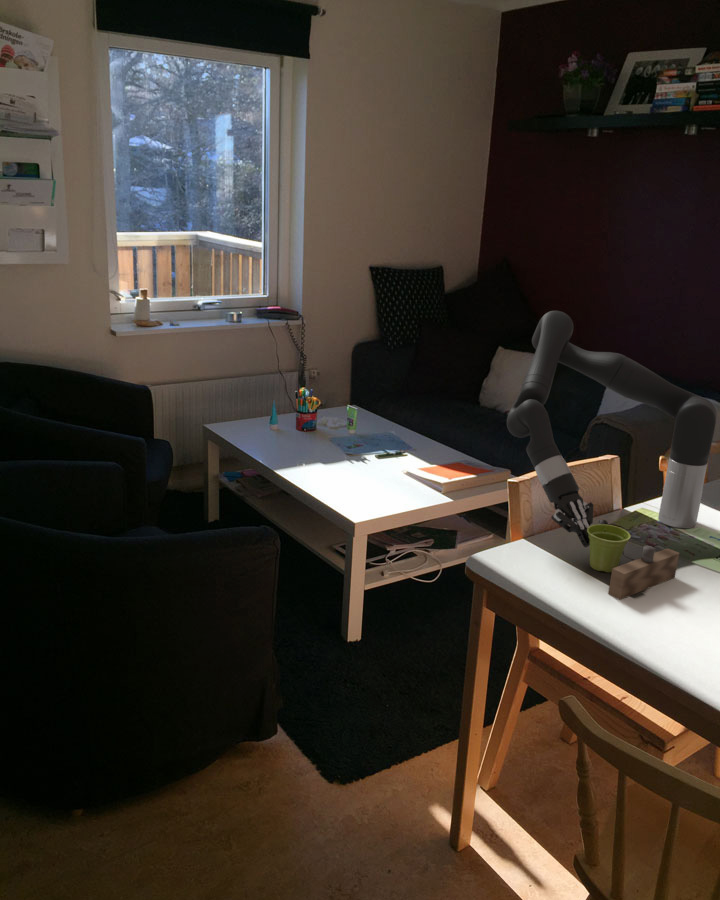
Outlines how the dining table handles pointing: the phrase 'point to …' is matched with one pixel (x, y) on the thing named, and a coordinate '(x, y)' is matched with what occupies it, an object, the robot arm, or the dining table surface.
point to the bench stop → (643, 572)
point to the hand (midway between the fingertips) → (589, 545)
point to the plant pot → (606, 546)
